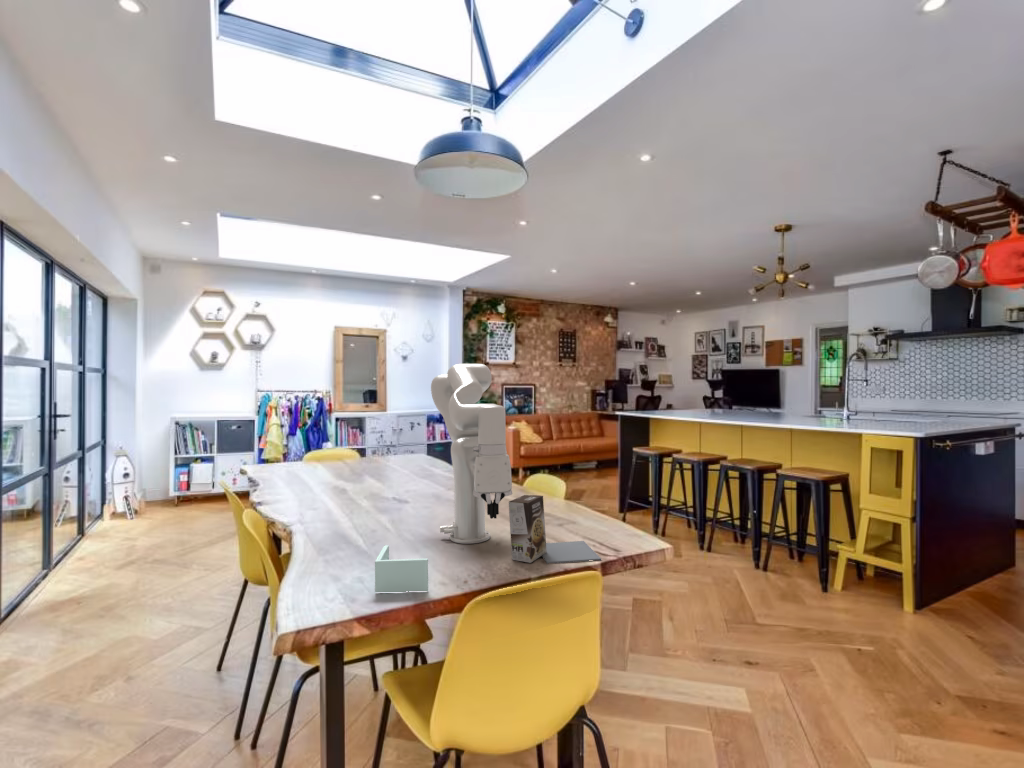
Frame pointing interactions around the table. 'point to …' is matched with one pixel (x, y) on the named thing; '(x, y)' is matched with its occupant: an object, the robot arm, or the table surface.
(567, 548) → the mat
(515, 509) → the coffee box
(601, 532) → the table surface
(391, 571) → the right angle wall
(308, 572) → the table surface
